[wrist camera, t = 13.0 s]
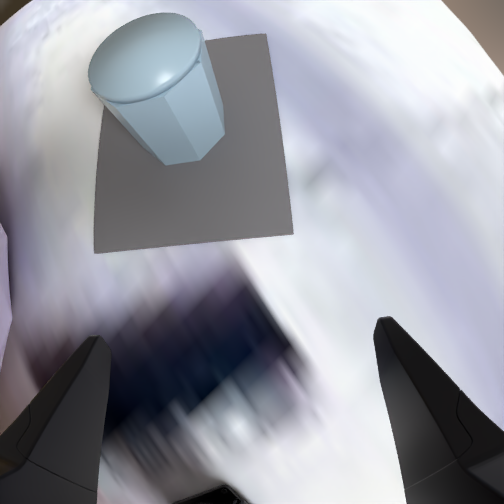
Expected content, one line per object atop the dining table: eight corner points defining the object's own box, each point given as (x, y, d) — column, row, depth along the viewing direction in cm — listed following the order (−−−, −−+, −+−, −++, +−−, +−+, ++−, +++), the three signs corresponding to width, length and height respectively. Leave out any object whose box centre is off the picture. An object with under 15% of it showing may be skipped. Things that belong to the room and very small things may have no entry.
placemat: (293, 234, 23) (293, 233, 23) (96, 253, 24) (94, 253, 24) (266, 36, 26) (266, 33, 25) (113, 64, 27) (112, 62, 26)
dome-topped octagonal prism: (226, 157, 24) (198, 81, 14) (142, 169, 24) (79, 110, 15) (222, 86, 25) (199, 3, 15) (146, 100, 25) (99, 30, 15)
